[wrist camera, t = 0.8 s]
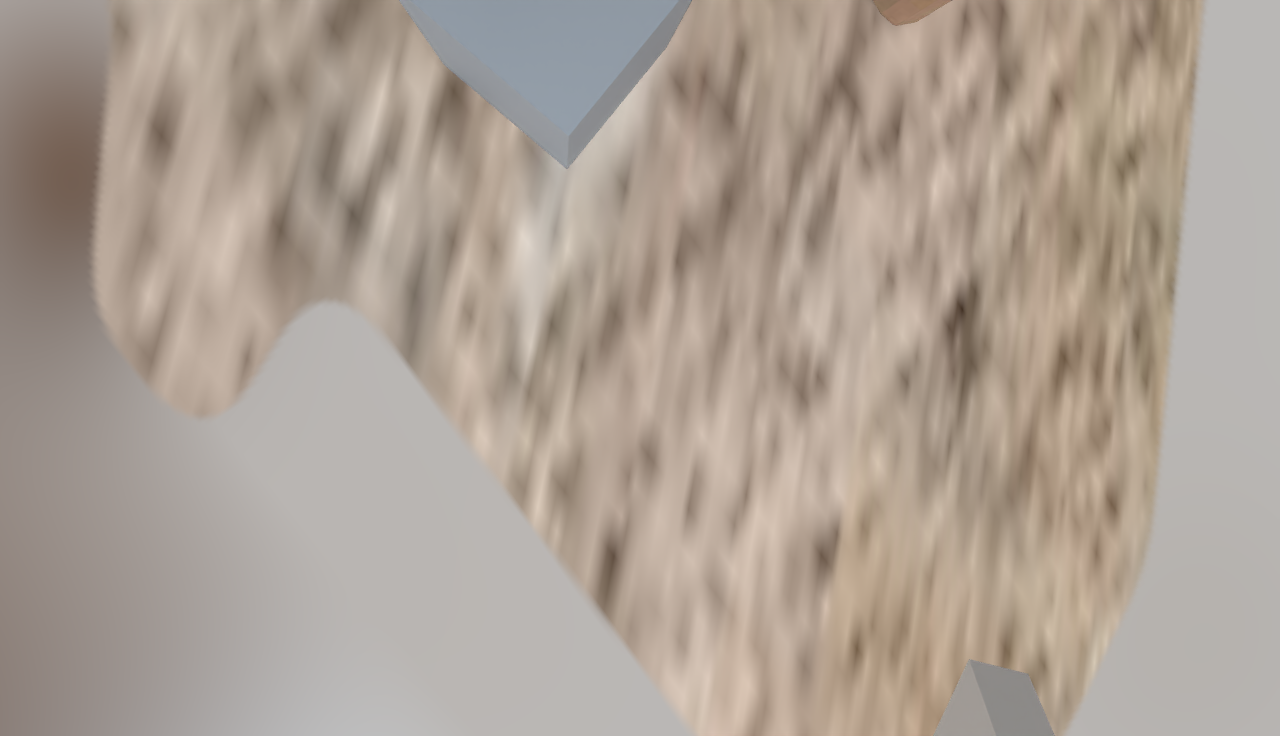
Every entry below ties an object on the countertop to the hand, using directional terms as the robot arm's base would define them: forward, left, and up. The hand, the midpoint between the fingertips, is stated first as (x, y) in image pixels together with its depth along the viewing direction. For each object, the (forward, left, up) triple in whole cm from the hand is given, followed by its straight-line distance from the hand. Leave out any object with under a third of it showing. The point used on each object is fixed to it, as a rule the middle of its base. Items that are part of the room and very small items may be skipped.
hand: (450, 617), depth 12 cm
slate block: (-7, +10, -25) cm, 28 cm away
